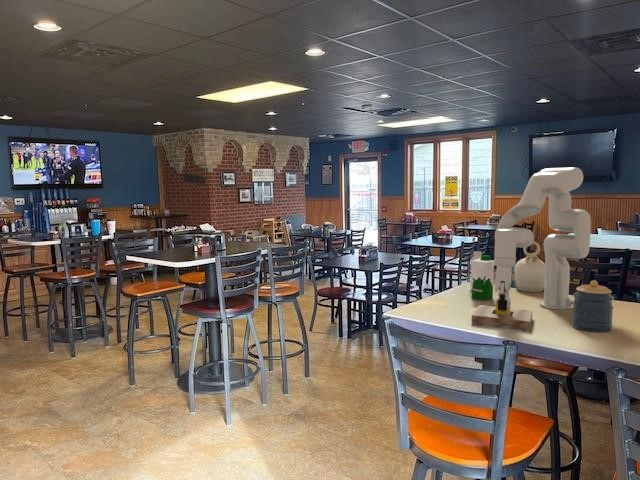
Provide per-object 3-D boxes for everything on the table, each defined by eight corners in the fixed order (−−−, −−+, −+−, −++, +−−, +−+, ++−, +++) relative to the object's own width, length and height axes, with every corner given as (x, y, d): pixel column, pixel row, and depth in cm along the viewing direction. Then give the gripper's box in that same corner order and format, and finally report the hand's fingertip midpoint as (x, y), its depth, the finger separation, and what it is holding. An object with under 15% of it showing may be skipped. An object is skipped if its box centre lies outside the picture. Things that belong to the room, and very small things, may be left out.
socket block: (532, 319, 185) (532, 310, 185) (529, 331, 169) (529, 321, 169) (478, 313, 194) (479, 305, 194) (471, 324, 178) (471, 315, 178)
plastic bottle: (484, 292, 236) (485, 252, 234) (470, 291, 237) (471, 252, 235) (482, 289, 242) (483, 250, 240) (468, 289, 243) (469, 250, 241)
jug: (544, 294, 231) (546, 243, 229) (510, 290, 240) (512, 241, 237) (548, 288, 244) (550, 240, 242) (516, 285, 252) (518, 239, 250)
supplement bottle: (507, 319, 178) (508, 294, 177) (493, 317, 181) (493, 292, 180) (512, 316, 182) (513, 292, 181) (498, 314, 185) (499, 290, 184)
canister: (573, 330, 170) (576, 282, 168) (569, 321, 182) (571, 276, 180) (615, 334, 165) (618, 284, 163) (608, 325, 177) (611, 278, 175)
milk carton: (495, 298, 222) (497, 256, 220) (485, 301, 216) (487, 257, 214) (478, 295, 228) (479, 254, 226) (468, 298, 222) (469, 256, 220)
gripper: (497, 258, 189) (495, 302, 190) (491, 264, 173) (489, 312, 175) (517, 259, 185) (515, 304, 187) (513, 265, 170) (511, 314, 172)
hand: (503, 308), depth 181 cm, fingers closed on supplement bottle, 5 cm apart
